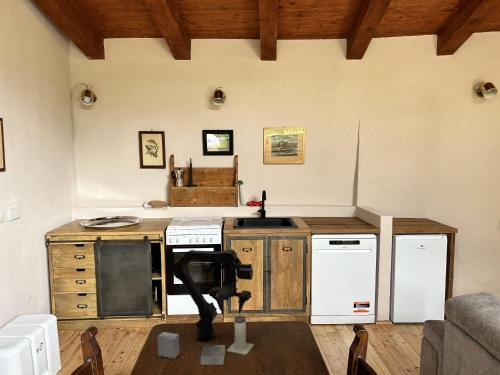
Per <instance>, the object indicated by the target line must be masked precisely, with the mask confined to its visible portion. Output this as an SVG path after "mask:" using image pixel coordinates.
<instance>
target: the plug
mask: <svg viewBox="0 0 500 375" xmlns="http://www.w3.org/2000/svg"><path fill="white" fill-rule="evenodd" d="M246 318H247V317H246V316H244V315H237V316H235V317H234V319H233V320H234V342H235V349H237V350H243V349H245V348H246V343H247V333H246V332H247V327H246V324H247V322H246Z"/></svg>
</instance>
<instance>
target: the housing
mask: <svg viewBox="0 0 500 375" xmlns="http://www.w3.org/2000/svg"><path fill="white" fill-rule="evenodd" d="M225 355H226V344H208V345H207V344H206V345H203V346H202V351H201V355H200V365H201V366H223V365H225V364H224V363H225V357H226V356H225Z"/></svg>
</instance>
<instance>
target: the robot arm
mask: <svg viewBox="0 0 500 375" xmlns="http://www.w3.org/2000/svg"><path fill="white" fill-rule="evenodd" d="M192 261H203V262H204V261H206V262H207V261H208V262H217V263H219V264H220V266H219V267H218V269H219V270H223V281H222V282H221V283H222V284H221V287H220V286H219V287H218V286H214V287H212V288H211V289H210V290H209V293H208V295H209V297H211V298H212V299H213V300H215V302H216V303H217V306H218V307H216V306H215V304H214V302H213V301H212V302H209V301H208V300H206V298H205V296H204V295H203V294H202V292H201V290H200V288H199V287H198V285H197V284H196V283H195V280H194V279H193V277H192V276H191V272H190V268H189V264H190V263H191V262H192ZM169 269H170V272H171V273H172V275H173V276H174V277H175V278H176V279H177V280H179V281H180V282H181V283H182V284H183V287H184V288H185V289H186V291H187V293H188V295H189V296H190V297H191V299H192V301H193V302H194V304H195V306H196V307H197V311H198V316H199V318H200V319H199V320H197V322H196V324H195V325H196V328H197V337H196V338H195V339H196V340H197V341H203V342H207V343H208V342H210V341H211V340H212V339H213V338H214V337H215V333H214V331H215V330H214V329H215V328H214V327H213V326H214V324H213V322H214V321H215V319H216V318H217V317H218V311H217V310H218V308H219V311H220V312H222V311H223V309H224V307H223V306H224V304H223V303H224V302H223V301H229V300H230V298H233V297H236V298H238V301H237V302H238V314H239V315H241V314H242V310H243V307H244V305H245V302H248V301H249V300H250V299H251V298H252V292H251V291H250V290H242V291H240V292H239V291H238V290H239V289H238V287H237V283H238V279H239V280H246V281H253V278H254V269H253V264H252V263H247V264H246V263H242V261H241V259H240V258H239V257H238V253H237V252H236V251H235V249H225V250H219V251H209V250H196V249H190V250H188V251H187V252H185V254H184V255H183V256H182V257H181V258H180V259H178V260H176V261H175V262H172V264H171V265H170V268H169ZM237 291H238V292H237Z"/></svg>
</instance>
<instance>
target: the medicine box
mask: <svg viewBox="0 0 500 375" xmlns="http://www.w3.org/2000/svg"><path fill="white" fill-rule="evenodd" d="M179 335H180V334H179V333H171V332H165V331H163V332H162V333H160V334H159V335H157V356H158V357H162V356H163V358H167V357H168V358H169V359H176V358H177V356H179V354H180V336H179Z"/></svg>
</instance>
